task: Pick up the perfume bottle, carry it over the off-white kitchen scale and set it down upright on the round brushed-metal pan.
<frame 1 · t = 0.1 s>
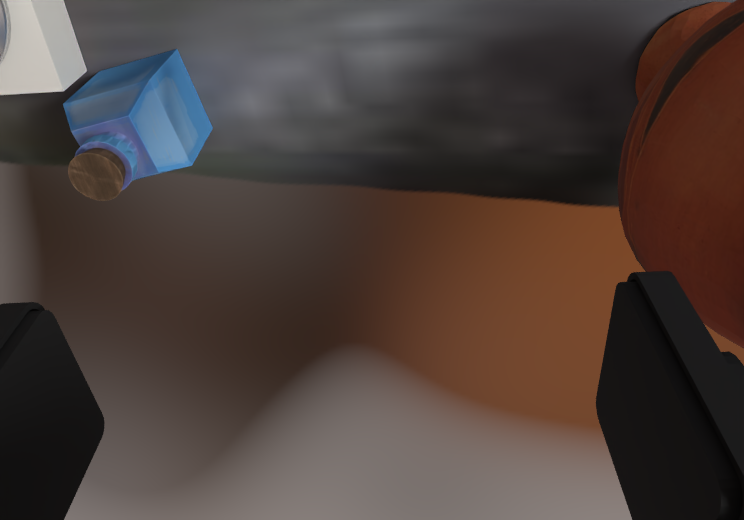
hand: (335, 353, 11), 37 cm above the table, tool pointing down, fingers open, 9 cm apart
perfume bottle: (158, 99, 47), on the table
goblet: (697, 68, 45), on the table
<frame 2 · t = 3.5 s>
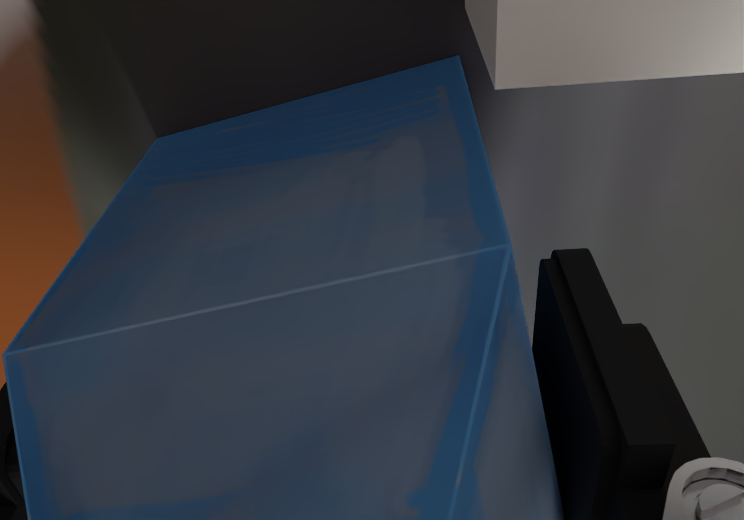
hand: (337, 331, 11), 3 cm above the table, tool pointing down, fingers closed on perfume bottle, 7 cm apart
perfume bottle: (349, 224, 14), on the table, touching gripper
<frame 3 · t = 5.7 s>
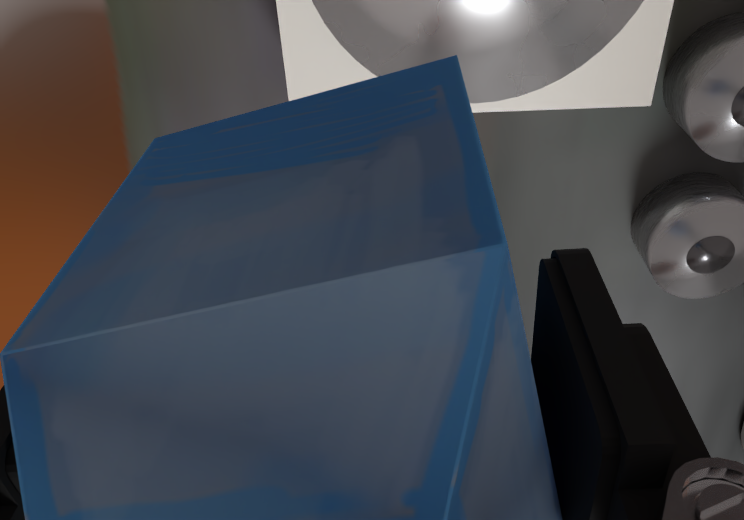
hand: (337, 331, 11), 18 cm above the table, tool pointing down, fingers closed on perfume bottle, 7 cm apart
perfume bottle: (347, 224, 14), point 14 cm above the table, touching gripper
spacer a: (725, 74, 26), on the table
spacer b: (684, 218, 30), on the table
when the fingers open (10 cm above the table, at t = 8.0 s): perfume bottle drops 1 cm, resting on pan.
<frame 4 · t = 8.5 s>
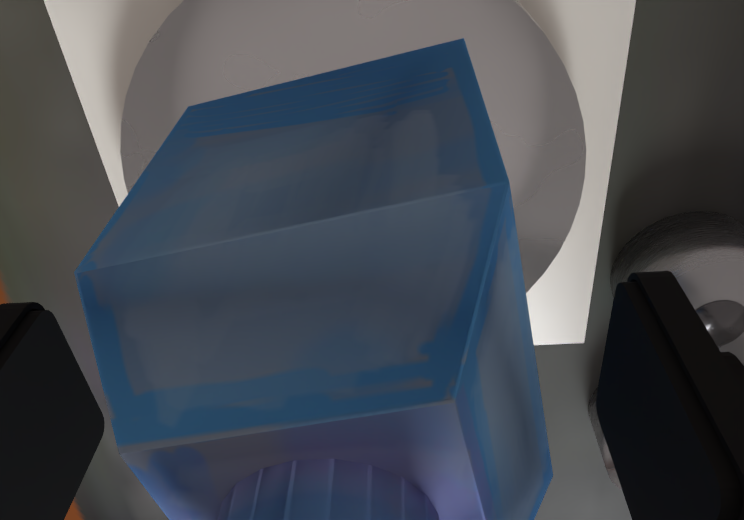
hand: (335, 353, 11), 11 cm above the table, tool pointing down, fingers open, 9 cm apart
perfume bottle: (358, 191, 15), point 5 cm above the table, touching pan
scale: (361, 108, 19), on the table
spacer a: (680, 269, 23), on the table
spacer b: (647, 401, 27), on the table
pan: (353, 183, 16), point 5 cm above the table, slide at -1.0 cm, touching perfume bottle
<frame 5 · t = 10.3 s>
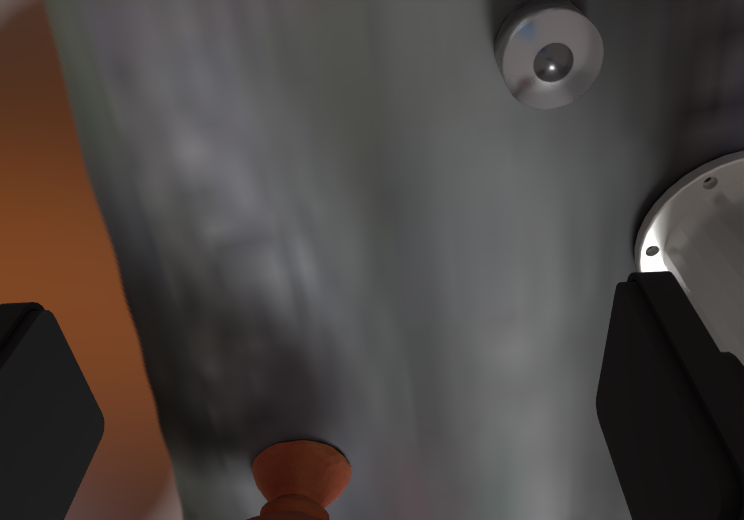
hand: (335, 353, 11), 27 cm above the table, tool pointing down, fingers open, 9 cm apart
goblet: (300, 467, 57), on the table
spacer b: (540, 43, 34), on the table
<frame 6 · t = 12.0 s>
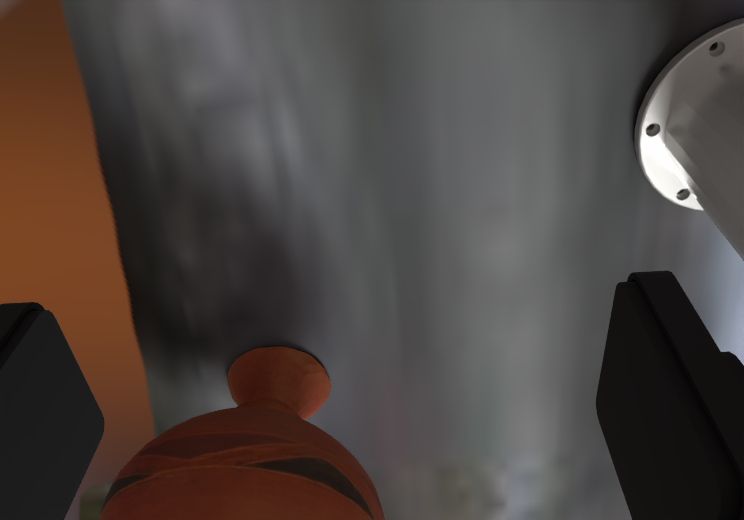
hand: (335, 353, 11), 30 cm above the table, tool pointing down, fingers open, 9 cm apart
goblet: (277, 380, 55), on the table
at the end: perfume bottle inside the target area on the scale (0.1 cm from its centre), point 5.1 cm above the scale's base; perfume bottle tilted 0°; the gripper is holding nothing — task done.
